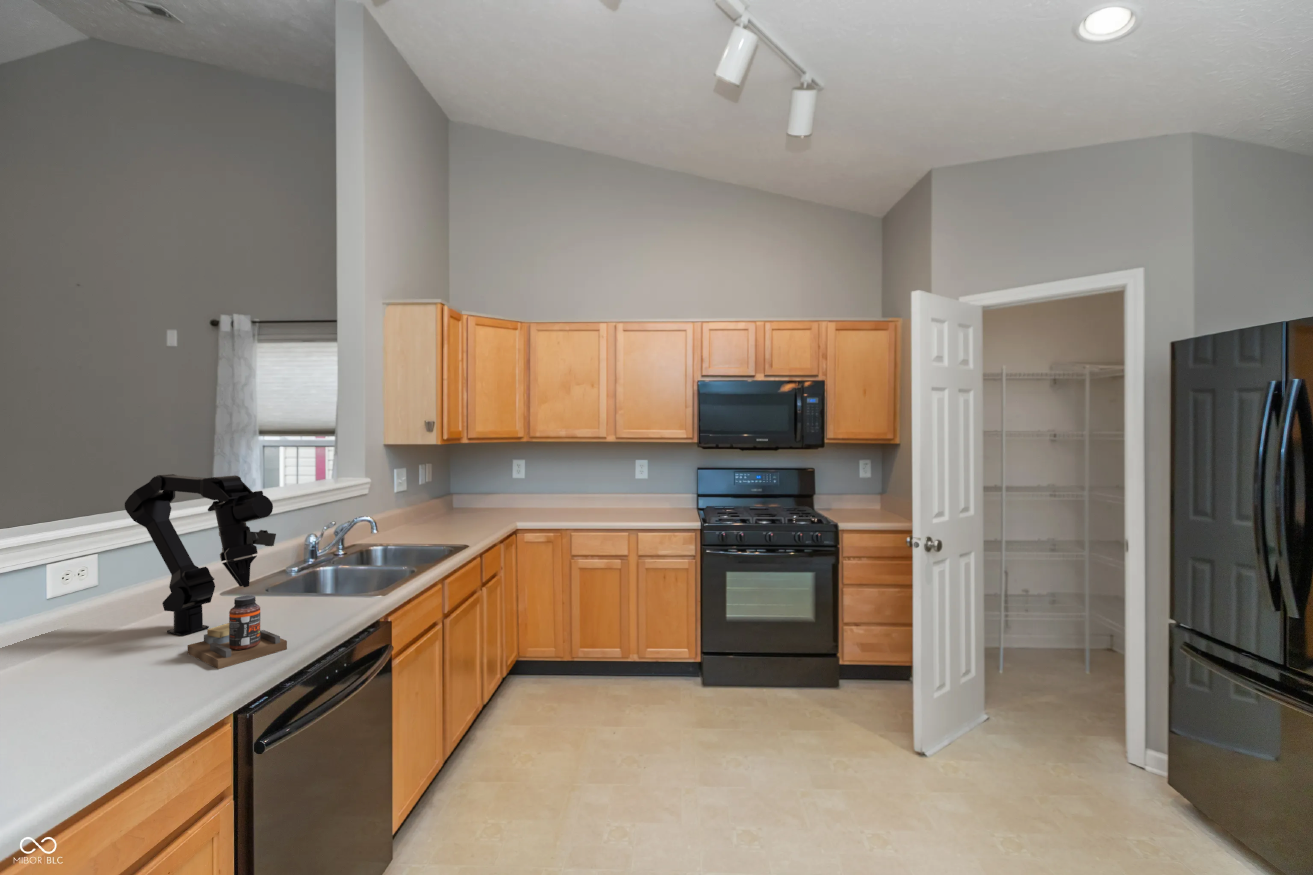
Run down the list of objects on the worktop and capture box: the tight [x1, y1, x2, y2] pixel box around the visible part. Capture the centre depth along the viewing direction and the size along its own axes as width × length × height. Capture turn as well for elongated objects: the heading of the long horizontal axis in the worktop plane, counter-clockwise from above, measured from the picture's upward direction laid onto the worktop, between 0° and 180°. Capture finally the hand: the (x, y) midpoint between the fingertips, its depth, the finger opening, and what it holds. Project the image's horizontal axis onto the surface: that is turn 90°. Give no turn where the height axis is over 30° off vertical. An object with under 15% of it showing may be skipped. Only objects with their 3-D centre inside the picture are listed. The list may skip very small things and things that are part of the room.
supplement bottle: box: [228, 594, 261, 650], centre depth 136 cm, size 6×6×11 cm
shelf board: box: [186, 622, 288, 670], centre depth 139 cm, size 16×14×5 cm
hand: (244, 586), depth 148 cm, fingers open, 9 cm apart
